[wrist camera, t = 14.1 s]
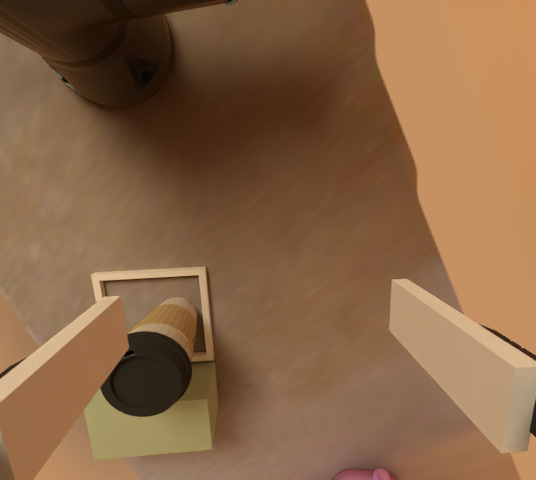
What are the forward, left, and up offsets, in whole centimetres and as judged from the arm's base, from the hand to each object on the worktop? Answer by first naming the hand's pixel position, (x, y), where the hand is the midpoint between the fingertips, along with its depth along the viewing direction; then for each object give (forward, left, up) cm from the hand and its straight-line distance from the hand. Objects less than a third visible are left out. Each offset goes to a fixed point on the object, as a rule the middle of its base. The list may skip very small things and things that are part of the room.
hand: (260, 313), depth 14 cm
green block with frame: (+19, -16, -29) cm, 38 cm away
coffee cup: (+14, -13, -29) cm, 35 cm away
